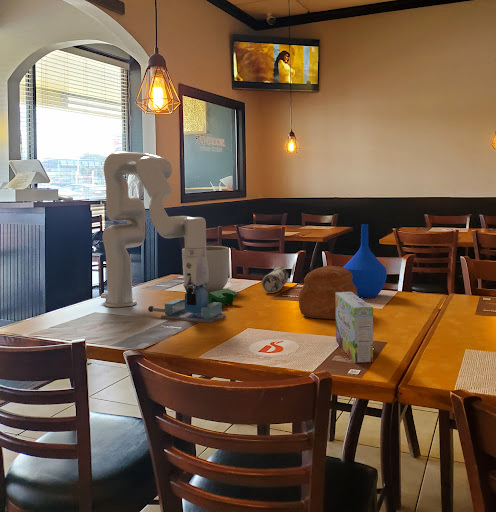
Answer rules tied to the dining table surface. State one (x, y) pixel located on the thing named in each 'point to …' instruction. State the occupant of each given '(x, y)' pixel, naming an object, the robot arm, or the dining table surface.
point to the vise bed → (208, 314)
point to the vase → (366, 269)
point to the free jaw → (170, 307)
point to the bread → (324, 291)
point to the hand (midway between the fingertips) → (196, 302)
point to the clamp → (222, 296)
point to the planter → (215, 267)
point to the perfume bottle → (197, 300)
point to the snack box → (354, 326)
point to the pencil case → (275, 280)
